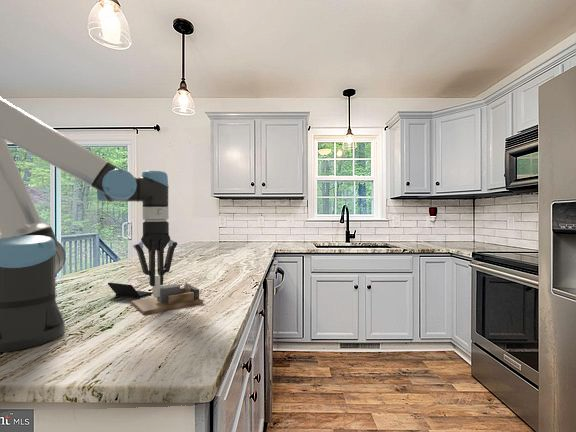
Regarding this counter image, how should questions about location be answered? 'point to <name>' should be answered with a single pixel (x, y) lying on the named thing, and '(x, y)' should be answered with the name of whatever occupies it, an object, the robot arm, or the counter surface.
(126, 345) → the counter surface
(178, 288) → the plug block
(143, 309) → the header board
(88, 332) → the counter surface
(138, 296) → the black angled piece
